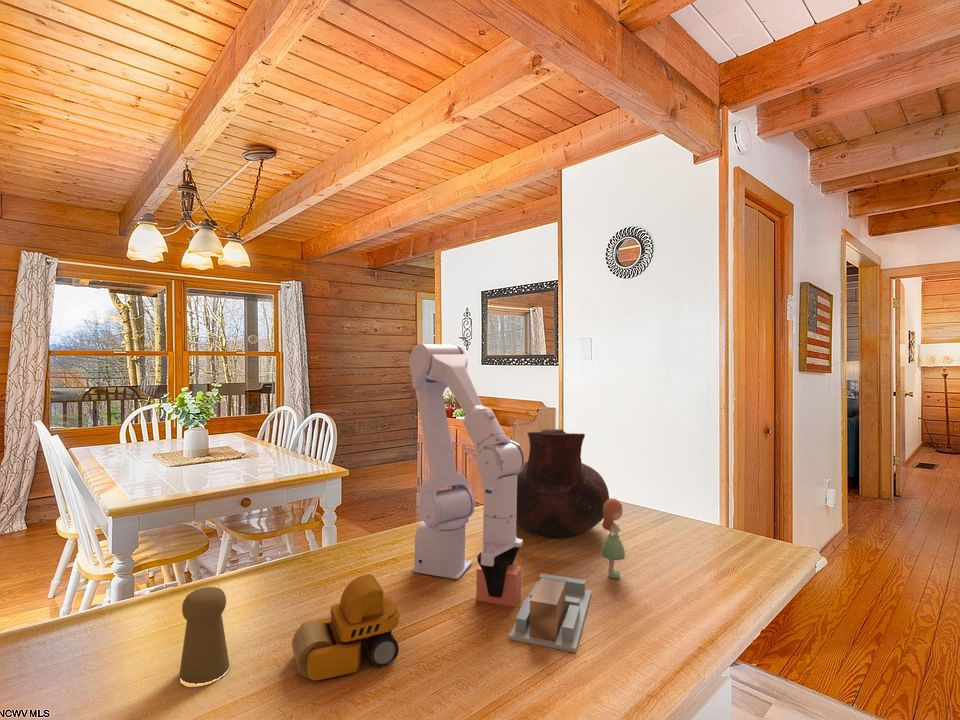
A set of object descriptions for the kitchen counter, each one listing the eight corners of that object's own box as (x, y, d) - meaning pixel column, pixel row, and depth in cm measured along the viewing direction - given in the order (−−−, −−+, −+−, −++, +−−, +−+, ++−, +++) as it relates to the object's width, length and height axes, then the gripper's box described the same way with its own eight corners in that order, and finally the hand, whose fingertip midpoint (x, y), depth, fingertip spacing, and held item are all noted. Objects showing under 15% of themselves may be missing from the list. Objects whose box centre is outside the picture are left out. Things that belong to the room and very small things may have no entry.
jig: (508, 639, 80) (509, 622, 80) (536, 584, 98) (536, 570, 98) (575, 652, 76) (576, 634, 76) (591, 593, 94) (591, 579, 94)
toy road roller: (289, 654, 75) (290, 581, 75) (388, 630, 82) (388, 563, 81) (299, 691, 67) (299, 610, 67) (407, 661, 74) (407, 587, 74)
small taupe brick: (529, 636, 79) (529, 600, 79) (540, 610, 87) (541, 577, 87) (555, 641, 78) (556, 605, 78) (564, 615, 86) (565, 581, 85)
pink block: (476, 600, 92) (476, 568, 91) (482, 590, 95) (483, 560, 95) (515, 607, 89) (516, 574, 89) (520, 597, 93) (521, 566, 93)
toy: (626, 593, 95) (628, 510, 94) (601, 591, 96) (603, 508, 95) (622, 563, 108) (623, 490, 107) (600, 561, 109) (601, 488, 108)
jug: (608, 518, 135) (610, 420, 134) (608, 558, 110) (611, 438, 109) (510, 510, 140) (512, 416, 139) (491, 545, 116) (493, 432, 115)
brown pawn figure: (191, 659, 73) (191, 581, 73) (236, 658, 74) (236, 580, 74) (169, 688, 67) (169, 603, 67) (219, 686, 68) (218, 602, 67)
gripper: (511, 530, 83) (510, 614, 84) (532, 503, 97) (530, 576, 98) (469, 524, 86) (468, 607, 86) (495, 499, 99) (494, 570, 100)
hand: (498, 590), depth 92 cm, fingers closed on pink block, 4 cm apart
